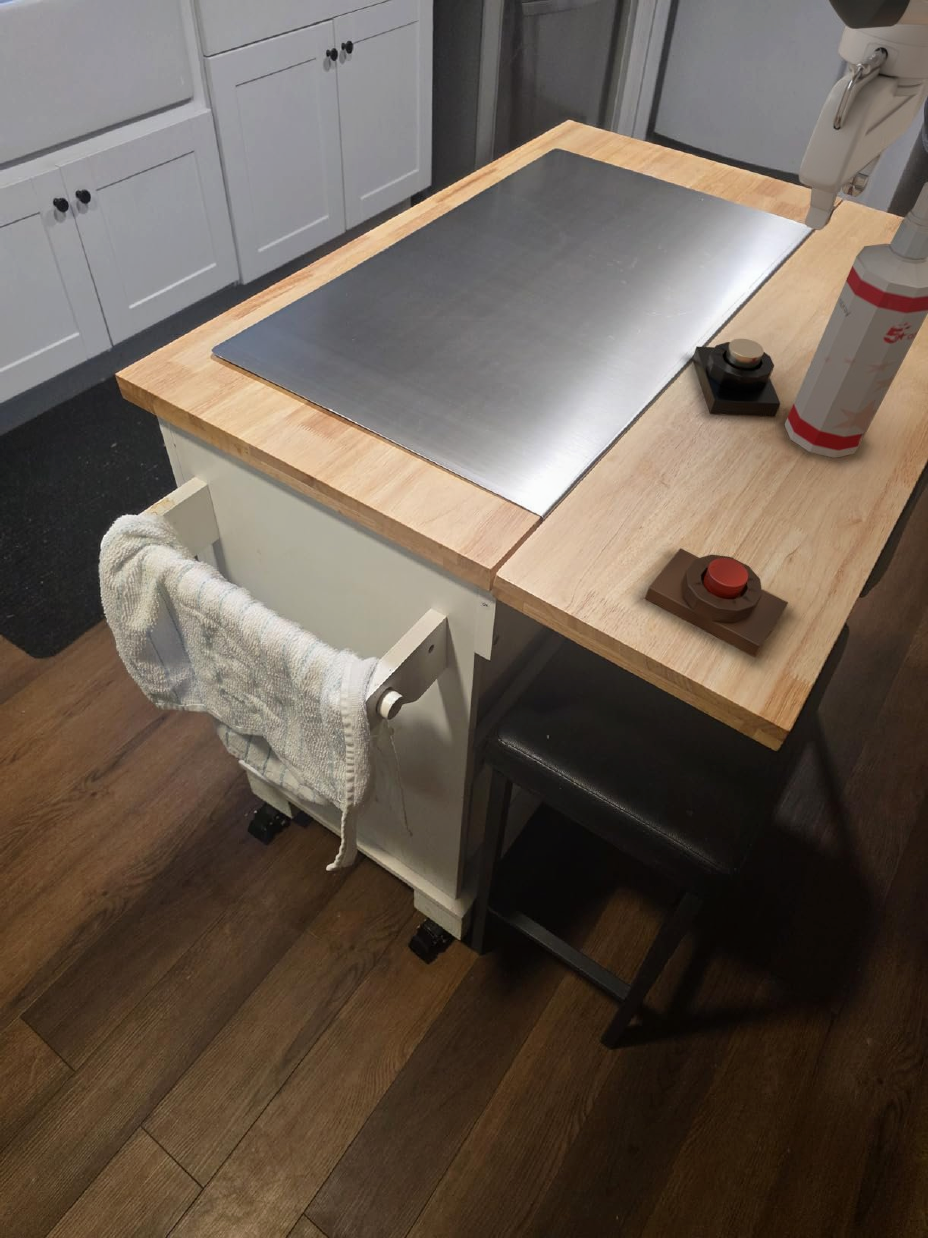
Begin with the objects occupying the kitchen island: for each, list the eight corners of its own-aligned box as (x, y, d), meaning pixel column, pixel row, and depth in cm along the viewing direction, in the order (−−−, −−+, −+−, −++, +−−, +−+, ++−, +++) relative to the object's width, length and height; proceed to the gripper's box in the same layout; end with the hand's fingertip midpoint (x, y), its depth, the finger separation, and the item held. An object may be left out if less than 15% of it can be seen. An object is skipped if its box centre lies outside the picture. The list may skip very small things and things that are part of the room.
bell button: (748, 582, 72) (754, 569, 70) (732, 605, 70) (738, 592, 69) (713, 564, 73) (718, 551, 72) (696, 587, 71) (702, 573, 70)
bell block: (782, 612, 73) (795, 588, 71) (754, 657, 70) (766, 633, 68) (676, 558, 77) (685, 534, 74) (644, 598, 73) (652, 574, 71)
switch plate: (753, 362, 98) (763, 334, 95) (775, 417, 91) (786, 388, 89) (692, 359, 97) (700, 331, 95) (709, 413, 91) (719, 385, 88)
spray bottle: (801, 401, 94) (907, 157, 75) (868, 429, 91) (996, 183, 72) (775, 437, 89) (880, 186, 70) (845, 467, 87) (974, 216, 68)
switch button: (753, 353, 93) (759, 339, 92) (762, 373, 91) (767, 358, 90) (721, 351, 93) (726, 337, 92) (728, 371, 91) (733, 356, 89)
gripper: (897, 77, 64) (826, 260, 74) (972, 20, 75) (901, 185, 86) (816, 55, 66) (757, 235, 76) (900, 3, 77) (840, 166, 88)
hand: (834, 208), depth 81 cm, fingers open, 8 cm apart
